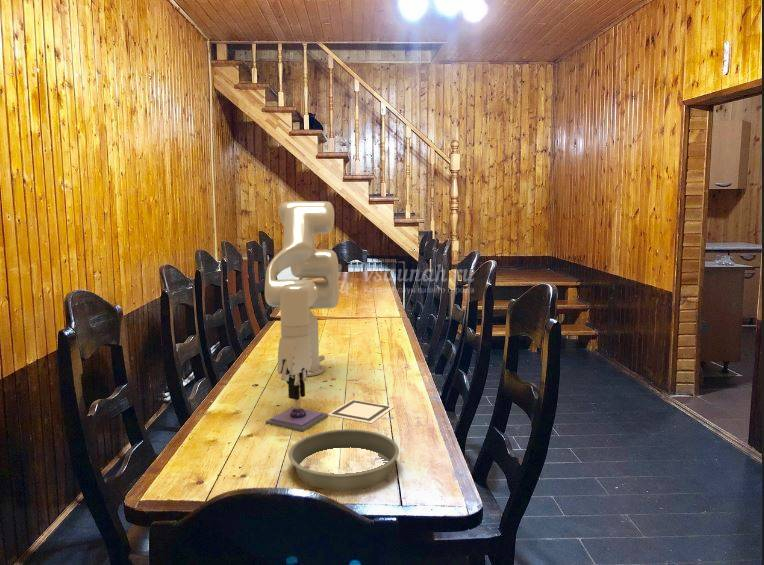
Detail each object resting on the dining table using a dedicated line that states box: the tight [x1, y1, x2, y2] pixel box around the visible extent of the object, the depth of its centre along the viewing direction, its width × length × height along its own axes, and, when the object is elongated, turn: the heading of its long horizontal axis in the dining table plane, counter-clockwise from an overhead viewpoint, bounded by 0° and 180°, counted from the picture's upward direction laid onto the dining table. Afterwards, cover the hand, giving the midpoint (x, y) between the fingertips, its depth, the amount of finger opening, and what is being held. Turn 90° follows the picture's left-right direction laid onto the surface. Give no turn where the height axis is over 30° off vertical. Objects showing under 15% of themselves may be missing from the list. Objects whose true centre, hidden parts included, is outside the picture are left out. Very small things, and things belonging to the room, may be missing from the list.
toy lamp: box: [290, 368, 306, 418], centre depth 164 cm, size 5×5×17 cm
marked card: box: [327, 399, 395, 424], centre depth 172 cm, size 14×14×1 cm
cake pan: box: [288, 428, 400, 491], centre depth 136 cm, size 25×25×4 cm
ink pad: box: [265, 406, 329, 433], centre depth 165 cm, size 12×12×1 cm
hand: (296, 396), depth 164 cm, fingers closed on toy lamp
